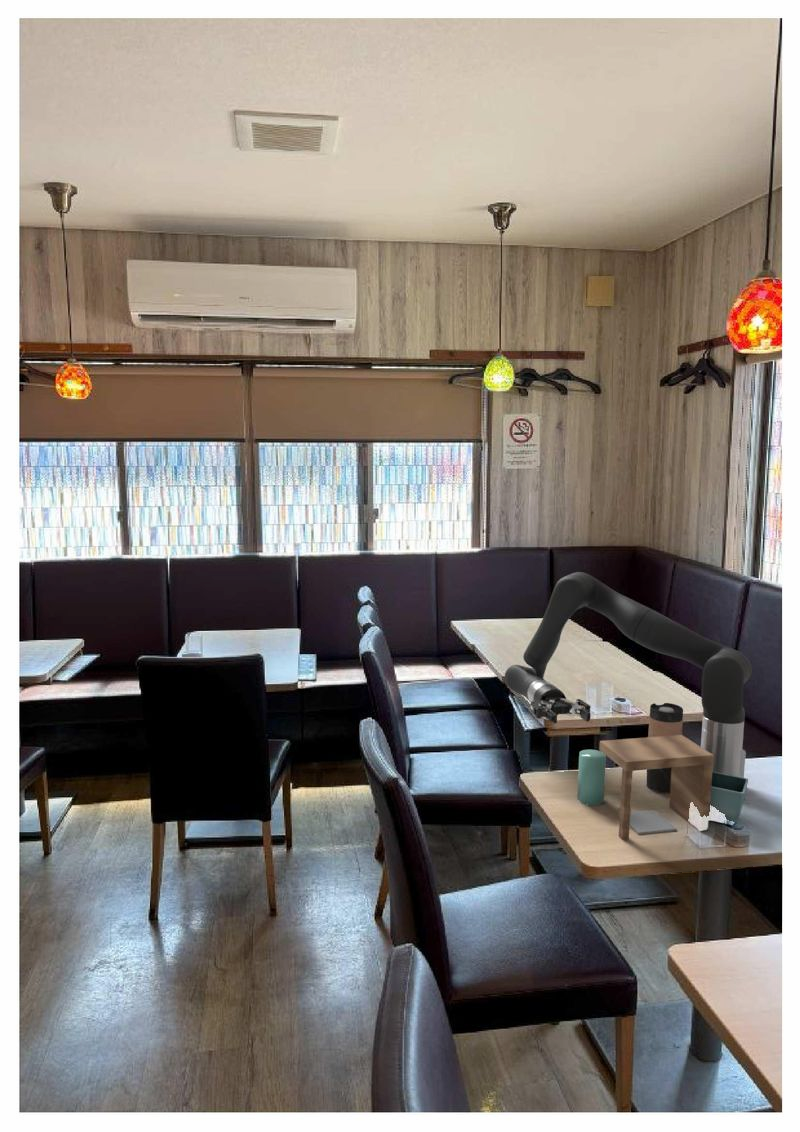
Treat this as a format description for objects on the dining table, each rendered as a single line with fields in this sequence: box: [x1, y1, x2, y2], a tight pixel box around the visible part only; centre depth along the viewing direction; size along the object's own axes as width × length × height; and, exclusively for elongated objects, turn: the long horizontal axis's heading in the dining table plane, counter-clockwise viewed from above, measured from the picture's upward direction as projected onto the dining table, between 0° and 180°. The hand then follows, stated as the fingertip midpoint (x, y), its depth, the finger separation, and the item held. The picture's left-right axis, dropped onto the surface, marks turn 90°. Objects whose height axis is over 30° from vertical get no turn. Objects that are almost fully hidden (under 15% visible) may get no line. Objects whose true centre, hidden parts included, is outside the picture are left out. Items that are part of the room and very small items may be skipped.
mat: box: [617, 809, 678, 835], centre depth 172 cm, size 9×9×1 cm
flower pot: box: [710, 772, 749, 823], centre depth 173 cm, size 9×9×9 cm
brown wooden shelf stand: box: [598, 734, 713, 841], centre depth 171 cm, size 20×12×17 cm, turn 102°
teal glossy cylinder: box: [576, 749, 607, 806], centre depth 182 cm, size 6×6×11 cm
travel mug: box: [645, 702, 684, 794], centre depth 188 cm, size 8×8×20 cm
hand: (572, 718), depth 191 cm, fingers open, 8 cm apart
